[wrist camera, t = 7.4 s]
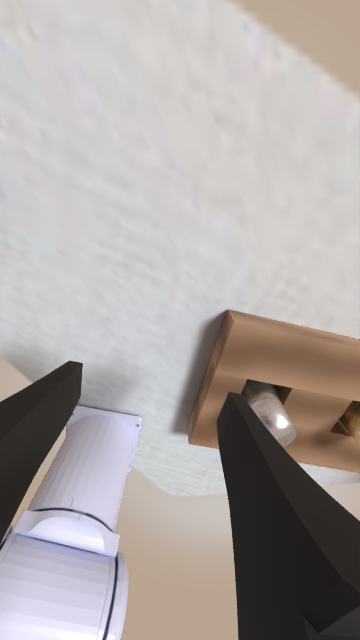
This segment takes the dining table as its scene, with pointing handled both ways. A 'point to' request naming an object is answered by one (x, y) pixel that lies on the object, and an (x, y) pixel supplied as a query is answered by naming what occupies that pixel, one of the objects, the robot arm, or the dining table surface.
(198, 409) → the pin board
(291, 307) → the dining table surface
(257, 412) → the steel pin
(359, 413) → the brass pin
